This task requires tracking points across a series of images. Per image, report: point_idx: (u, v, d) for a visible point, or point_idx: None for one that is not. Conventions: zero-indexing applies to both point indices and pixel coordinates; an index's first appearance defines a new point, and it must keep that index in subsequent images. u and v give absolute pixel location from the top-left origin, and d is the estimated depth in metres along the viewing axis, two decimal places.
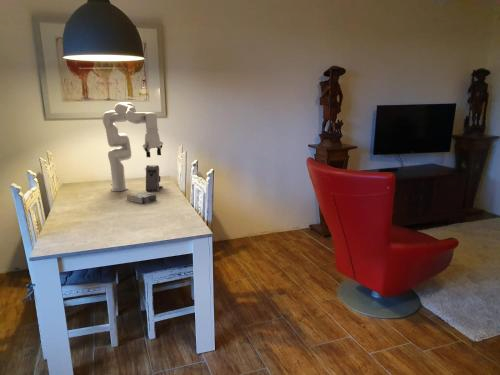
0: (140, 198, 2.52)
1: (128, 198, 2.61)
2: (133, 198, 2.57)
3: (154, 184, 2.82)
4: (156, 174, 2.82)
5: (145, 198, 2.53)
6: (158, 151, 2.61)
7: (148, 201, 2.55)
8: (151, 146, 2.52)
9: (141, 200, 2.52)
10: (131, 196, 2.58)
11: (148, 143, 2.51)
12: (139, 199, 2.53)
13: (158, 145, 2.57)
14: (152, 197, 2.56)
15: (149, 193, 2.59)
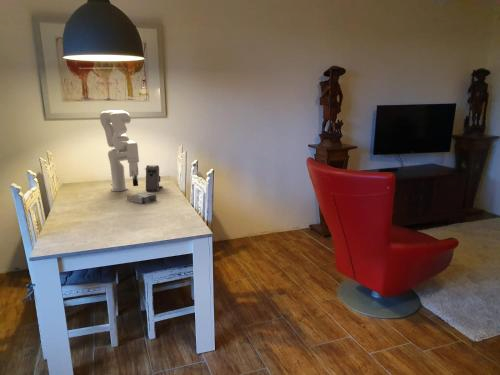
0: (140, 198, 2.52)
1: (128, 198, 2.61)
2: (133, 198, 2.57)
3: (154, 184, 2.82)
4: (156, 174, 2.82)
5: (145, 198, 2.53)
6: None
7: (148, 201, 2.55)
8: (137, 174, 2.59)
9: (141, 200, 2.52)
10: (131, 196, 2.58)
11: (135, 172, 2.57)
12: (139, 199, 2.53)
13: None
14: (152, 197, 2.56)
15: (149, 193, 2.59)
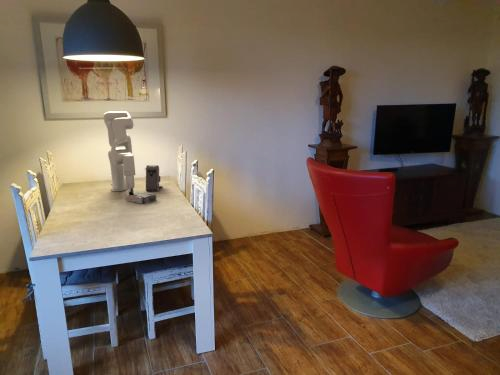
0: (140, 198, 2.52)
1: (127, 198, 2.60)
2: (132, 198, 2.56)
3: (154, 184, 2.82)
4: (156, 174, 2.82)
5: (145, 198, 2.53)
6: (131, 194, 2.61)
7: (148, 201, 2.55)
8: (133, 187, 2.57)
9: (141, 200, 2.52)
10: (130, 196, 2.57)
11: (131, 185, 2.55)
12: (139, 199, 2.53)
13: (134, 185, 2.63)
14: (152, 197, 2.56)
15: (149, 193, 2.59)
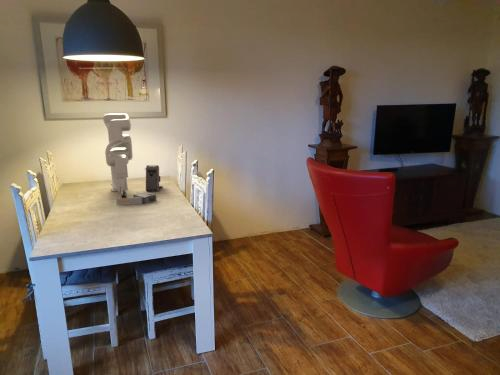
0: (140, 198, 2.51)
1: (119, 202, 2.51)
2: (128, 201, 2.51)
3: (154, 184, 2.82)
4: (156, 174, 2.82)
5: (145, 198, 2.53)
6: (124, 197, 2.54)
7: (148, 201, 2.55)
8: (125, 190, 2.49)
9: (141, 200, 2.52)
10: (125, 199, 2.51)
11: (123, 188, 2.47)
12: (138, 200, 2.51)
13: None
14: (152, 197, 2.56)
15: (149, 193, 2.59)
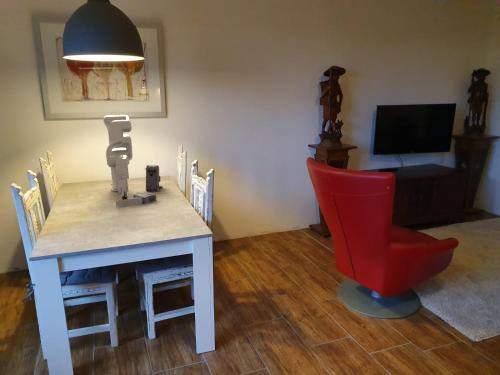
0: (140, 199, 2.51)
1: (119, 204, 2.47)
2: (128, 202, 2.48)
3: (154, 184, 2.82)
4: (156, 174, 2.82)
5: (145, 198, 2.53)
6: None
7: (148, 201, 2.55)
8: (126, 191, 2.46)
9: (141, 200, 2.52)
10: (125, 201, 2.47)
11: (124, 189, 2.44)
12: (138, 200, 2.51)
13: None
14: (152, 197, 2.56)
15: (149, 193, 2.59)
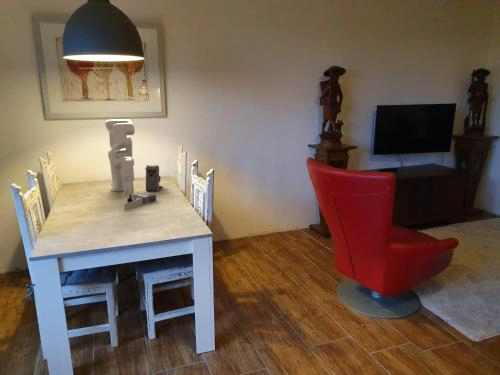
0: (141, 199, 2.50)
1: (127, 208, 2.39)
2: (133, 204, 2.44)
3: (154, 184, 2.82)
4: (156, 174, 2.82)
5: (145, 198, 2.53)
6: (130, 201, 2.45)
7: (148, 201, 2.55)
8: (132, 194, 2.41)
9: (142, 200, 2.51)
10: (131, 203, 2.42)
11: (129, 191, 2.38)
12: (140, 201, 2.50)
13: (133, 191, 2.47)
14: (152, 197, 2.56)
15: (149, 193, 2.59)
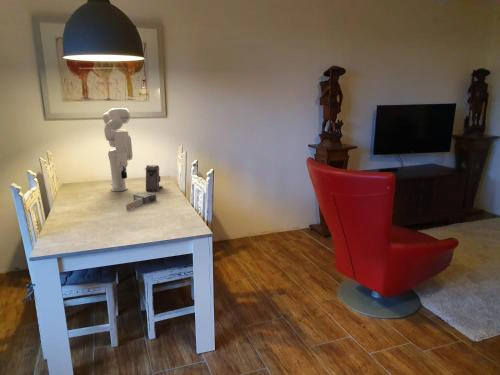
0: (141, 199, 2.50)
1: (129, 208, 2.39)
2: (134, 204, 2.44)
3: (154, 184, 2.82)
4: (156, 174, 2.82)
5: (145, 198, 2.53)
6: None
7: (148, 201, 2.55)
8: (125, 166, 2.39)
9: (142, 200, 2.51)
10: (132, 203, 2.42)
11: (123, 163, 2.37)
12: (140, 201, 2.49)
13: (127, 164, 2.45)
14: (152, 197, 2.56)
15: (149, 193, 2.59)
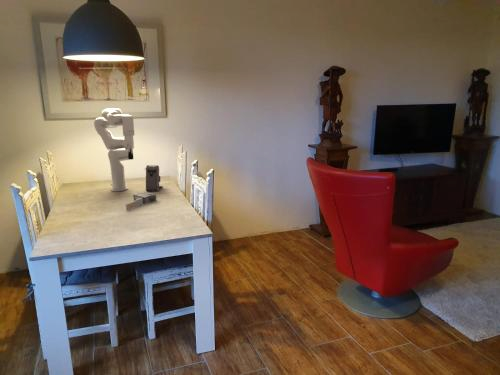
0: (141, 199, 2.50)
1: (129, 208, 2.39)
2: (134, 204, 2.44)
3: (154, 184, 2.82)
4: (156, 174, 2.82)
5: (145, 198, 2.53)
6: None
7: (148, 201, 2.55)
8: (132, 147, 2.61)
9: (142, 200, 2.51)
10: (132, 203, 2.42)
11: (130, 145, 2.59)
12: (140, 201, 2.49)
13: (133, 146, 2.67)
14: (152, 197, 2.56)
15: (149, 193, 2.59)
